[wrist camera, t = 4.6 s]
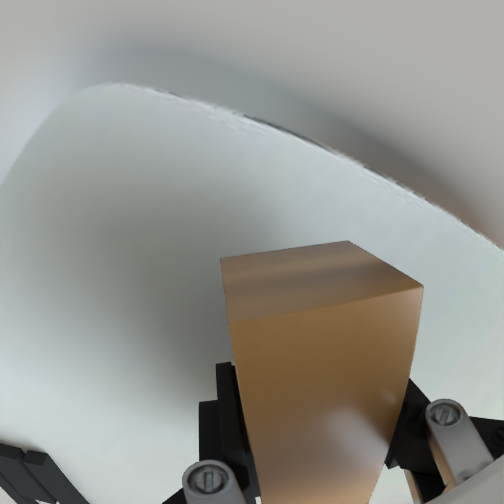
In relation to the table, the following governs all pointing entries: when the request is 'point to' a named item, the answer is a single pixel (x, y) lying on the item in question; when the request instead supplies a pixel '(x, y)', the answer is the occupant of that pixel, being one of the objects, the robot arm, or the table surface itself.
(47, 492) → the pad
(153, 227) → the table surface
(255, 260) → the block
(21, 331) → the table surface
